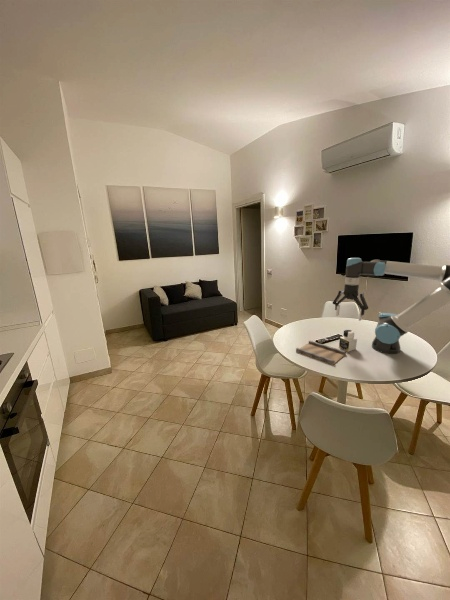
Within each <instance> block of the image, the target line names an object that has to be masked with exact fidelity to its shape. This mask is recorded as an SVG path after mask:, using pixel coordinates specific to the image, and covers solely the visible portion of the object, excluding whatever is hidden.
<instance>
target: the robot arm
mask: <svg viewBox="0 0 450 600" xmlns="http://www.w3.org/2000/svg"><path fill="white" fill-rule="evenodd" d="M345 266H346V267H345V280H344V288H343V290H342V289H340V290H338V293H337V296H336V297H335V298H334V299H333V301H332V305H335V308H334V310H335V316H336V317H338V316H339V315H340V309H341V307H340V306H341V305H340V304H341V303H342V302H343V301H345V299H347V300H353V301H354V302H355V303H356V305H358V307H359V315H358V321H360V322H361V321H362V319H363V316H364V315H365V311H367V310H369V306H368V303H367V302H366V299H365V293H364V292H361V293H359V288H360V287H359V286H360V285H359V284H360V277H361V276H362V275H363V276H377V277H379V276H381V277H382V276H385V274H386V275H392V276H393V275H394V276H401V277H409V278H415V279H416V278H417V279H425V280H430V281H431V280H432V281H437V282H439V283H440V284H439V286H438V287H437V288H436V289H435V290H432V291H431V292H430V293H428V294H427V295H425V296H424V297H422V298H420V299H419V300H418V301H416V302H415V303H413V304H412V305H410V306H409V307H407V308H406V309H404V310H402V311H401V312H399V313H398V314H397V313H392V312H380V313H379V315H378V320H377V323H376V327H375V330H374V335H375V336H374V338H373V341H372V343H371V348H372V349H374V350H375V351H377V352H380V353H383V354H390V355H391V354H392V355H394V354H395V355H397V354H398V353H400V352H401V345H400V338H401V337H403V336H404V335H406V334H408V333H409V329H410V328H411V327H413V326H415V325H416V324H418V323H419V322H421V321H422V320H424V319H426V318H428V317H429V316H431V315H432V314H434V313H435V312H438V311H439V310H441V309H442V308H443V307H446V306H447V305H448V304H450V265H449V264H445V265H442V266H439V265H429V264H422V263H421V264H419V263H411V262H402V261H401V262H400V261H390V260H380V259H375V258H374V259H372V260H370V261H363V260H362V258H360V257H350V258H347V260H346V265H345ZM342 295H343V296H342ZM341 296H342V297H341ZM359 298H360V299H359ZM339 299H340V300H339Z"/></svg>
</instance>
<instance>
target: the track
mask: <svg viewBox="0 0 450 600" xmlns="http://www.w3.org/2000/svg"><path fill="white" fill-rule="evenodd" d="M295 351H296V352H297V353H298V354H299V353H300V354H303V355H305V356H308V357H311V358H314V359H316V360H319V361H322V362H324V363H327V364H329V365H333V366H334V365H335V364H337V362H339V361H340V360H341V359H343V358H344V357H345V356H346V355H347V351H346V350H343V349H339V348H335V347H331V346H328V345H325V344H323V343H320V342H316V341H313V340H308V342H307V344H305V345H302V347H300V348H299V347H296V348H295Z"/></svg>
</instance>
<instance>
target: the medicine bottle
mask: <svg viewBox="0 0 450 600" xmlns="http://www.w3.org/2000/svg"><path fill="white" fill-rule="evenodd" d="M342 335H343V336H340V337H339V344H338V348H340V349H341V350H343V351H346V352H351V351H355V350H356V349H357V345H358V344H357V343H358V342H357V341H358V339H357V338H355V331H353V330H351V329H345V330H343V333H342Z"/></svg>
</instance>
